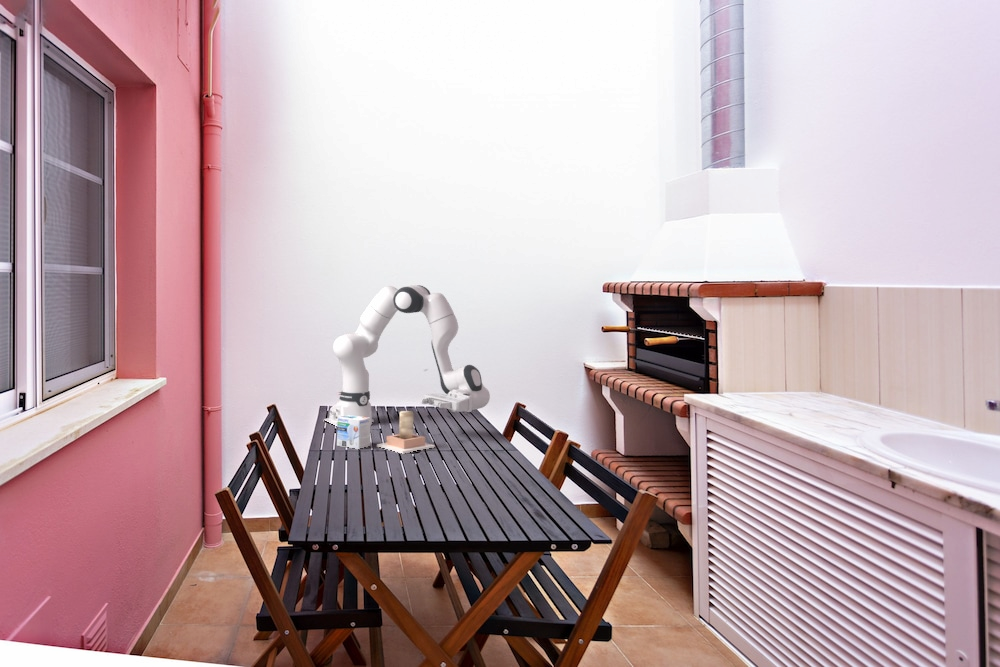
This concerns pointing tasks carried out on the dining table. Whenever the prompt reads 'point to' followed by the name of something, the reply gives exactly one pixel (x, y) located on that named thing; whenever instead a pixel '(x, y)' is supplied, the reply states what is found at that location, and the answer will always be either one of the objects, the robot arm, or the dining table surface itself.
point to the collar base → (405, 444)
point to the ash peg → (406, 425)
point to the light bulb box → (353, 431)
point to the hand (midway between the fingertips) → (430, 403)
